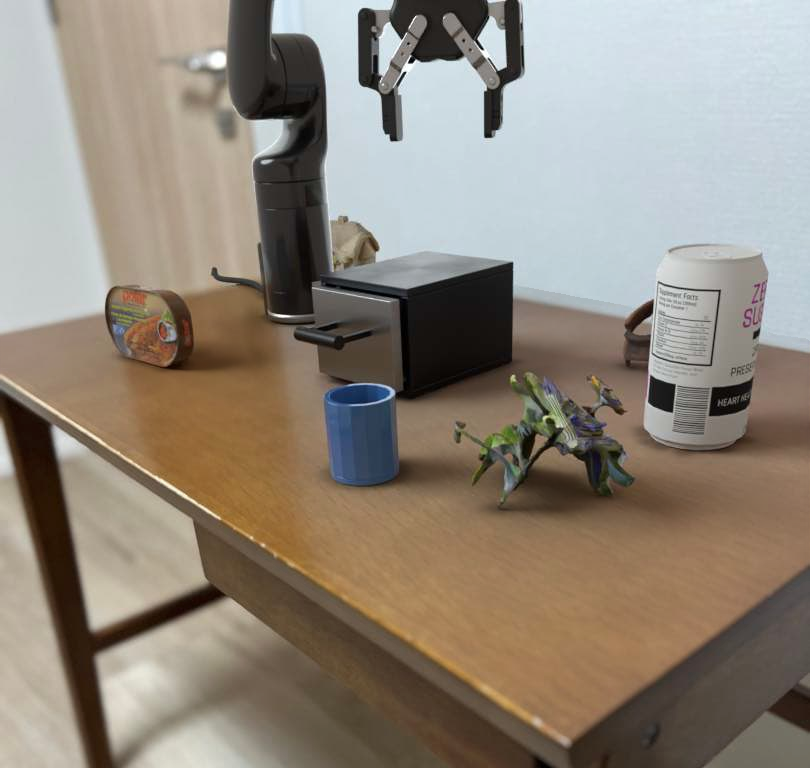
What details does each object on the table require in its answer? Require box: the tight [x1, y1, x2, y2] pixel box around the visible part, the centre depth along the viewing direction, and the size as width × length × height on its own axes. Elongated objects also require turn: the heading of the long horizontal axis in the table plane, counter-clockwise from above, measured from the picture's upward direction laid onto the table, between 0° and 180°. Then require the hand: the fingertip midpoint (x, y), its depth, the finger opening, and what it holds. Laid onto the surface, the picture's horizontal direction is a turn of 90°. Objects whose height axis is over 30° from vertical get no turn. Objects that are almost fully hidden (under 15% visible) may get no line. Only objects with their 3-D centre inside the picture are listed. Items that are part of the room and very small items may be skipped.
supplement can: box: [643, 242, 769, 451], centre depth 71 cm, size 8×8×15 cm
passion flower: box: [453, 371, 636, 510], centre depth 63 cm, size 11×11×12 cm
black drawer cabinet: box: [320, 250, 514, 400], centre depth 92 cm, size 16×13×11 cm
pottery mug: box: [622, 298, 654, 368], centre depth 91 cm, size 12×10×8 cm
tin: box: [104, 284, 195, 368], centre depth 101 cm, size 15×3×8 cm, turn 47°
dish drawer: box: [293, 285, 406, 393], centre depth 89 cm, size 19×11×9 cm, turn 135°
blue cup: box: [323, 383, 400, 487], centre depth 69 cm, size 6×6×6 cm
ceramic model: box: [330, 215, 380, 272], centre depth 134 cm, size 14×11×10 cm
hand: (442, 139), depth 78 cm, fingers open, 8 cm apart
